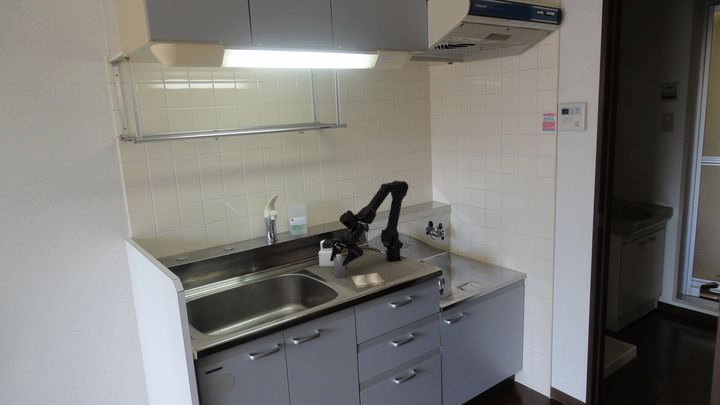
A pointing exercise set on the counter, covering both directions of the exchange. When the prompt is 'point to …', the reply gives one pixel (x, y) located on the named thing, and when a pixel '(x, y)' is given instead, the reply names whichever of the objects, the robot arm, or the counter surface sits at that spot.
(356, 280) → the birch board
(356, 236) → the robot arm
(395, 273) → the counter surface
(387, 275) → the counter surface
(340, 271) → the white-capped grey cylinder
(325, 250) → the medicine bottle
